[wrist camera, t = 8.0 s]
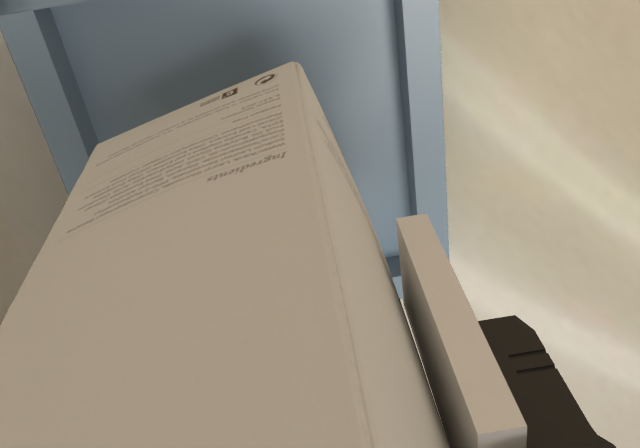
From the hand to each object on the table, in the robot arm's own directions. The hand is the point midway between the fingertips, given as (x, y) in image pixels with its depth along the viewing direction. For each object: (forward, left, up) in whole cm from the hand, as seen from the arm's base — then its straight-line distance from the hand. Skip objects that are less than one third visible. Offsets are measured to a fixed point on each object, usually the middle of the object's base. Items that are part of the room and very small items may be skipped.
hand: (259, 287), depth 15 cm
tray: (0, 0, -10) cm, 10 cm away
